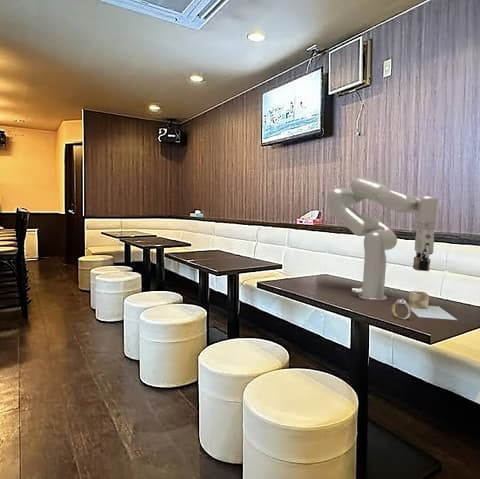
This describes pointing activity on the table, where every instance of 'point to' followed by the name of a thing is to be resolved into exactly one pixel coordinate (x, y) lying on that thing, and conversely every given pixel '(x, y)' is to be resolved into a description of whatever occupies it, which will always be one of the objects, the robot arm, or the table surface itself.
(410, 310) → the bracelet
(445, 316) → the board
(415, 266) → the walnut block
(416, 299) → the base block
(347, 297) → the table surface
